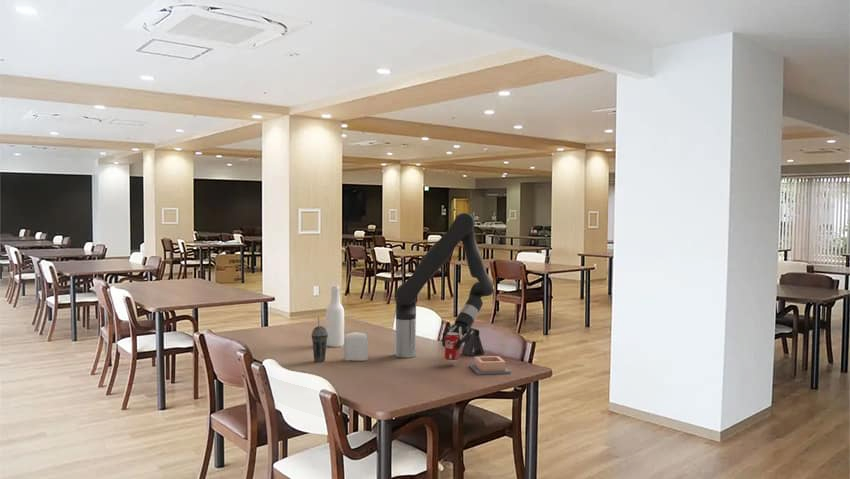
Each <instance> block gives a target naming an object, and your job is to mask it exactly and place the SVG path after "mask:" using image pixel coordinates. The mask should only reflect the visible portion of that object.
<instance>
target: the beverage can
mask: <svg viewBox="0 0 850 479" xmlns="http://www.w3.org/2000/svg"><path fill="white" fill-rule="evenodd" d="M444 339H445V347H444V360H446V362H449V363H456V362H458V361H459V360H460V350H461V347H460V348H459V349H458V350H456V348H455V345H456V343H457V342H458V340H459V335H458V333H455V332H449V333H447V335H446V336H445V338H444Z"/></svg>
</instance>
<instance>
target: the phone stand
mask: <svg viewBox="0 0 850 479" xmlns="http://www.w3.org/2000/svg"><path fill="white" fill-rule="evenodd" d="M470 329H472V330H473V332H474V333H473V335H472V336H471V338H470V339H469V341H468V342H467V343H466V342H464V343H463V344H464V345H463V348H462V350H461V354H462V355H464V356H467V357H473V356H474V355H476V356H482V355H481V354H484V355H485V350H484V347H483V345H482V340H481V337H480V330H479V329H476V328H473V327H471V328H470ZM466 339H467V338H466ZM474 357H475V356H474Z"/></svg>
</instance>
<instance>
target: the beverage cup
mask: <svg viewBox="0 0 850 479" xmlns="http://www.w3.org/2000/svg"><path fill="white" fill-rule="evenodd" d="M317 322H318V324H317V326H316V327H314V328H313V329H312V331H311V340H312V348H313V349H312V352H313V353H312V354H313V360H314V363H317V364H318V363H319V364H321V363H325V362H326V361H325V360H326V353H327V352H326V351H327V345H326V343H327V337H328V333H327V330H326V327H324V326H321V325H320V316H317Z"/></svg>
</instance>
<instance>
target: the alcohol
mask: <svg viewBox="0 0 850 479" xmlns="http://www.w3.org/2000/svg"><path fill="white" fill-rule="evenodd" d="M330 287H331V288H330V289H331V293H330V302H329V305H328V306H326V310H325V312H326V313H325V314H326V316H325V317H326V318H325V319H326V320H325V323H326V324H325V329H326V330H327V333H328V337H327V343H326V347H328V346H330V347H329V348H339V347H338V346H341V347H343V346H345V308H344V306H343V305H342V303H341V298H340V297H341V295H340V285H339V284H332V285H331V286H330Z"/></svg>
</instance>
